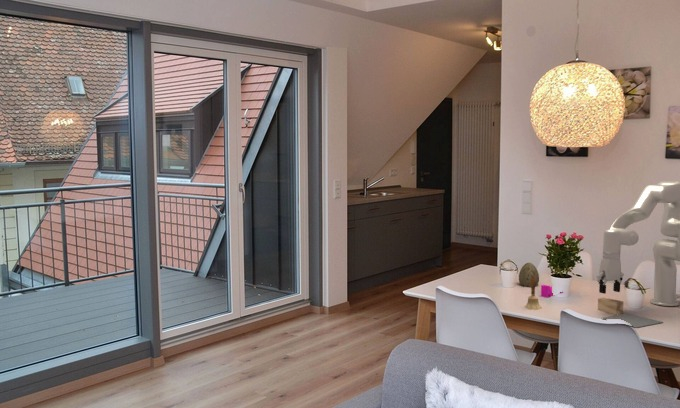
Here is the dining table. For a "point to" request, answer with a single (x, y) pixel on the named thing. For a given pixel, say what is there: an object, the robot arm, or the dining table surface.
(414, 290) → the dining table surface
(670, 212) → the robot arm
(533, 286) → the hand bell
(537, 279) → the decorative egg
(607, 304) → the oak block
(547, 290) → the toy block
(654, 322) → the mat
